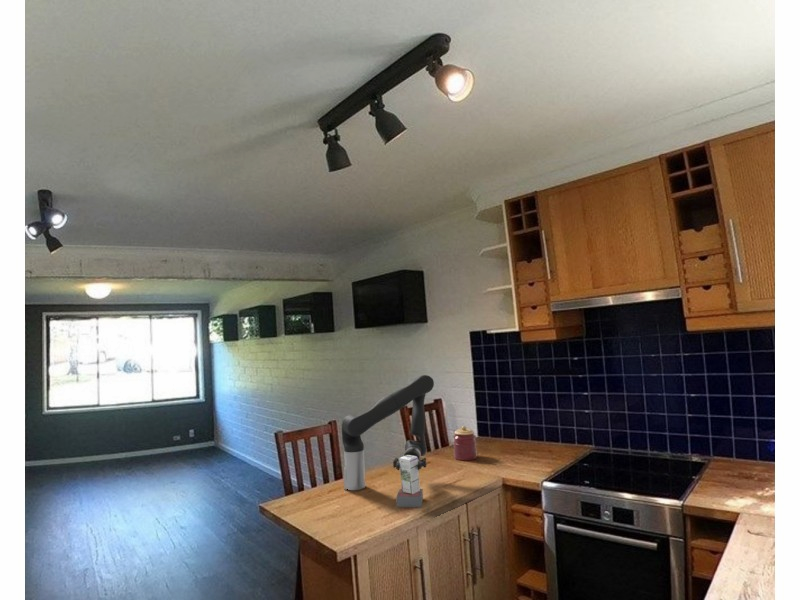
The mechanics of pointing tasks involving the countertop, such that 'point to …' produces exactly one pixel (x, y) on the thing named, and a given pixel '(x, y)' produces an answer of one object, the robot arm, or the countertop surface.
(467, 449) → the canister
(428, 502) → the countertop surface
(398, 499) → the display plinth
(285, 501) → the countertop surface
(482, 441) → the countertop surface
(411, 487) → the syrup box
